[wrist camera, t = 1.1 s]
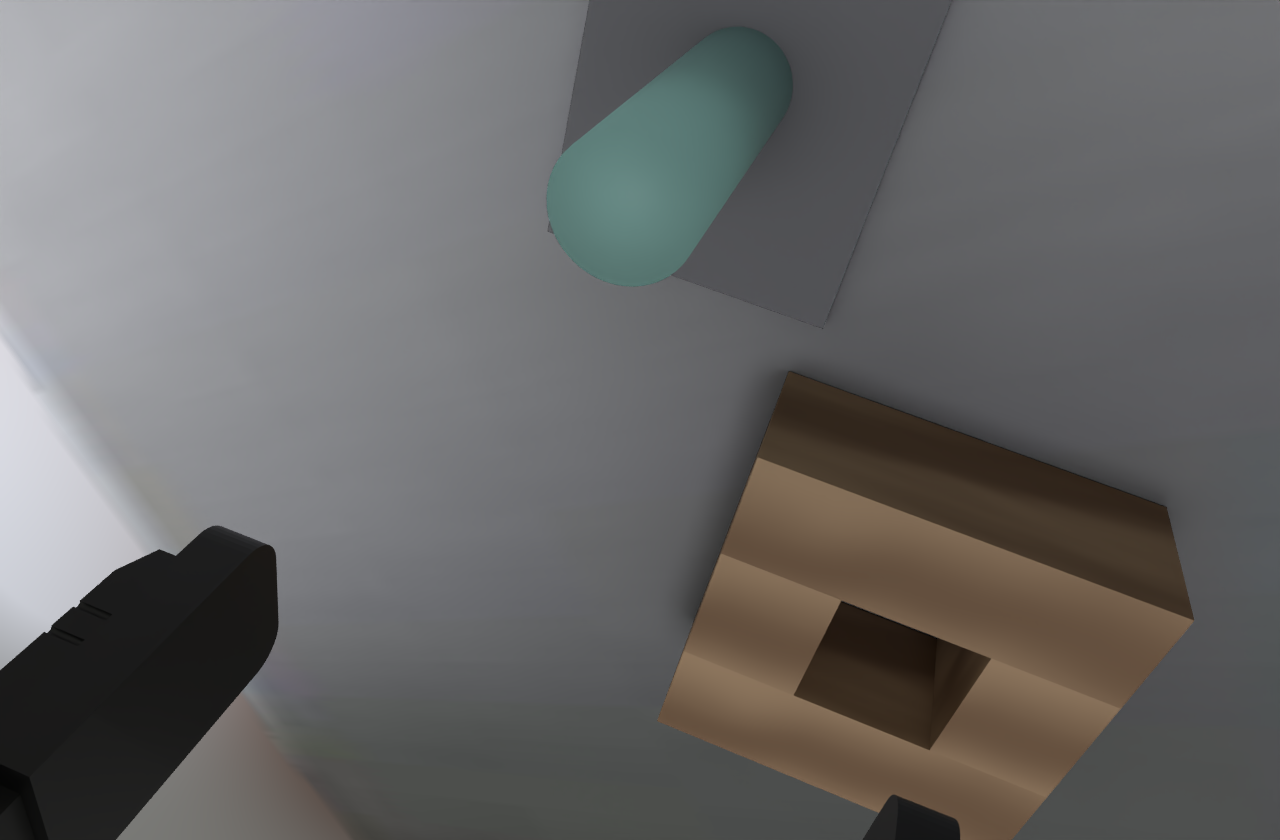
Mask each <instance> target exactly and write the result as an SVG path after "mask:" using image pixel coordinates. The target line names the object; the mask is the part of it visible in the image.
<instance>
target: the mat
mask: <svg viewBox="0 0 1280 840" xmlns="http://www.w3.org/2000/svg"><path fill="white" fill-rule="evenodd" d="M951 2H952V0H590V1H589V6H588V12H587V17H586V23H585V28H584V34H583V39H582V45H581V50H580V56H579V61H578V67H577V72H576V78H575V83H574V89H573V94H572V100H571V105H570V111H569V116H568V122H567V127H566V133H565V138H564V144H563V149H562V154H563V153H564V152H565V151H566V150H567V149H568V148H569V147H570V146H571V145H572V144H573V143H575V142H576V141H577V140H578V139H580V138H581V137H582V136H583V135H585V134H586V133H587V132H588V131H590V130H591V129H592V128H593V127H595V126H596V125H597V124H598V123H600V122H601V121H602V120H603V119H605V118H606V117H607V116H608V115H610V114H611V113H612V112H613V111H615V110H616V109H617V108H618V107H620V106H621V105H622V104H623V103H625V102H626V101H627V100H628V99H629V98H631V97H632V96H633V95H634V94H636V93H637V92H638V91H639V90H641V89H642V88H643V87H644V86H646V85H647V84H648V83H649V82H651V81H652V80H653V79H654V78H656V77H657V76H658V75H659V74H661V73H662V72H663V71H664V70H666V69H667V68H668V67H669V66H671V65H672V64H673V63H674V62H676V61H677V60H678V59H679V58H681V57H682V56H683V55H684V54H685V53H687V52H688V51H689V50H690V49H692V48H693V47H694V46H695V45H697V44H698V43H699V42H700V41H702V40H703V39H704V38H706V37H707V36H708V35H710V34H712V33H713V32H715V31H718V30H721V29H723V28H728V27H747V28H751V29H754V30H757V31H759V32H761V33H763V34H765V35H767V36H768V37H769V38H771V39H772V40H773V41H774V42H775V43H776V44H777V45H778V46H779V47H780V49H781V50H782V51H783V53H784V54H785V56H786V58H787V60H788V63H789V65H790V69H791V72H792V79H793V90H792V97H791V101H790V104H789V107H788V110H787V112H786V113H785V115H784V117H783V118H782V120H781V121H780V123H779V124H778V126H777V127H776V129H775V130H774V132H773V133H772V135H771V136H770V138H769V139H768V141H767V142H766V144H765V145H764V146H763V148H762V149H761V151H760V152H759V154H758V155H757V157H756V158H755V160H754V161H753V163H752V164H751V166H750V167H749V169H748V170H747V172H746V173H745V175H744V176H743V178H742V179H741V180H740V182H739V183H738V185H737V186H736V188H735V189H734V191H733V192H732V194H731V195H730V197H729V198H728V200H727V201H726V203H725V204H724V206H723V207H722V209H721V210H720V212H719V213H718V214H717V216H716V217H715V219H714V220H713V222H712V223H711V225H710V226H709V228H708V229H707V231H706V232H705V234H704V235H703V237H702V238H701V240H700V241H699V243H698V244H697V246H696V247H695V248H694V250H693V251H692V253H691V254H690V256H689V257H688V259H687V260H686V261H685V263H684V264H683V265H682V266H681V267H680V268H679V269H678V270H677V271H676V272H674V273H673V274H672V276H675V277H678V278H681V279H683V280H686V281H689V282H692V283H695V284H698V285H700V286H703V287H706V288H709V289H712V290H714V291H717V292H720V293H723V294H726V295H729V296H731V297H734V298H737V299H740V300H743V301H746V302H748V303H751V304H754V305H757V306H760V307H763V308H765V309H768V310H771V311H774V312H777V313H779V314H782V315H785V316H788V317H791V318H794V319H796V320H799V321H802V322H805V323H808V324H811V325H813V326H816V327H819V328H822V329H823V327H824V325H825V322H826V320H827V317H828V315H829V312H830V310H831V307H832V305H833V302H834V299H835V297H836V294H837V292H838V289H839V287H840V284H841V282H842V279H843V277H844V274H845V271H846V269H847V266H848V264H849V261H850V259H851V256H852V254H853V251H854V249H855V246H856V243H857V241H858V238H859V236H860V233H861V231H862V228H863V226H864V223H865V221H866V218H867V215H868V213H869V210H870V208H871V205H872V203H873V200H874V198H875V195H876V193H877V190H878V187H879V185H880V182H881V180H882V177H883V175H884V172H885V170H886V167H887V165H888V162H889V159H890V157H891V154H892V152H893V149H894V147H895V144H896V142H897V139H898V137H899V134H900V131H901V129H902V126H903V124H904V121H905V119H906V116H907V114H908V111H909V109H910V106H911V103H912V101H913V98H914V96H915V93H916V91H917V88H918V86H919V83H920V81H921V78H922V75H923V73H924V70H925V68H926V65H927V63H928V60H929V58H930V55H931V52H932V50H933V47H934V45H935V42H936V40H937V37H938V35H939V32H940V30H941V27H942V24H943V22H944V19H945V17H946V14H947V12H948V9H949V7H950V4H951ZM548 232H551V233H553V234H554V232H553V229H552V227H551V224H550V221H549V226H548Z"/></svg>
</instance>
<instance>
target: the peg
mask: <svg viewBox="0 0 1280 840" xmlns="http://www.w3.org/2000/svg"><path fill="white" fill-rule="evenodd" d="M792 90H793V79H792V72H791V69H790V65H789V63H788V60H787V58H786V56H785V54H784V53H783V51H782V50H781V49H780V47H779V46H778V45H777V44H776V43H775V42H774V41H773V40H772V39H771V38H769V37H768V36H767V35H765V34H763V33H761V32H759V31H757V30H754V29H751V28H747V27H728V28H723V29H721V30H718V31H715V32H713V33H712V34H710V35H708V36H707V37H706V38H704V39H703V40H702V41H700V42H699V43H698V44H697V45H695V46H694V47H693V48H692V49H690V50H689V51H688V52H687V53H685V54H684V55H683V56H682V57H681V58H679V59H678V60H677V61H676V62H674V63H673V64H672V65H671V66H669V67H668V68H667V69H666V70H664V71H663V72H662V73H661V74H659V75H658V76H657V77H656V78H654V79H653V80H652V81H651V82H649V83H648V84H647V85H646V86H644V87H643V88H642V89H641V90H639V91H638V92H637V93H636V94H634V95H633V96H632V97H631V98H629V99H628V100H627V101H626V102H625V103H623V104H622V105H621V106H620V107H618V108H617V109H616V110H615V111H613V112H612V113H611V114H610V115H608V116H607V117H606V118H605V119H603V120H602V121H601V122H600V123H598V124H597V125H596V126H595V127H593V128H592V129H591V130H590V131H588V132H587V133H586V134H585V135H583V136H582V137H581V138H580V139H578V140H577V141H576V142H575V143H573V144H572V145H571V146H570V147H569V148H568V149H567V150H566V151H565V152H564V153H563V154H562V155H561V157H560V158H559V159H558V161H557V163H556V164H555V166H554V168H553V170H552V173H551V175H550V179H549V183H548V188H547V211H548V217H549V220H550V224H551V227H552V229H553V232H554V234H555V236H556V238H557V240H558V242H559V244H560V245H561V247H562V248H563V250H564V251H565V252H566V254H567V255H568V256H569V257H570V258H571V259H572V260H573V261H574V262H575V263H576V264H577V265H578V266H579V267H580V268H582V269H583V270H585V271H586V272H587V273H589V274H591V275H592V276H594V277H596V278H598V279H600V280H603V281H605V282H608V283H612V284H615V285H621V286H634V287H635V286H645V285H649V284H653V283H656V282H658V281H661V280H663V279H665V278H667V277H669V276H670V275H672V274H673V273H674V272H676V271H677V270H678V269H679V268H680V267H681V266H682V265H683V264H684V263H685V261H686V260H687V259H688V257H689V256H690V254H691V253H692V251H693V250H694V248H695V247H696V246H697V244H698V243H699V241H700V240H701V238H702V237H703V235H704V234H705V232H706V231H707V229H708V228H709V226H710V225H711V223H712V222H713V220H714V219H715V217H716V216H717V214H718V213H719V212H720V210H721V209H722V207H723V206H724V204H725V203H726V201H727V200H728V198H729V197H730V195H731V194H732V192H733V191H734V189H735V188H736V186H737V185H738V183H739V182H740V180H741V179H742V178H743V176H744V175H745V173H746V172H747V170H748V169H749V167H750V166H751V164H752V163H753V161H754V160H755V158H756V157H757V155H758V154H759V152H760V151H761V149H762V148H763V146H764V145H765V144H766V142H767V141H768V139H769V138H770V136H771V135H772V133H773V132H774V130H775V129H776V127H777V126H778V124H779V123H780V121H781V120H782V118H783V117H784V115H785V113H786V112H787V110H788V107H789V104H790V101H791V97H792Z"/></svg>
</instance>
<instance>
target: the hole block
mask: <svg viewBox="0 0 1280 840" xmlns="http://www.w3.org/2000/svg"><path fill="white" fill-rule="evenodd" d="M841 600H842V601H845V602H847V603H850V604H852V605H855V606H857V607H860V608H863V609H865V610H868V611H870V612H873V613H875V614H878V615H881V616H883V617H886V618H888V619H891V620H893V621H896V622H899V623H901V624H904V625H906V626H909V627H911V628H914V629H917V630H919V631H922V632H924V633H927V634H929V635H932V636H935V637H937V638H938V639H935V638H933V637H930V636H927V635H925V634H922V633H920V632H917V631H915V630H912V629H909V628H907V627H904V626H902V625H899V624H897V623H894V622H891V621H889V620H886V619H884V618H881V617H879V616H876V615H873V614H871V613H868V612H866V611H863V610H861V609H858V608H855V607H853V606H850V605H848V604H845V603H842V602H841ZM1193 622H1194V617H1193V613H1192V609H1191V605H1190V601H1189V597H1188V593H1187V589H1186V585H1185V581H1184V576H1183V572H1182V568H1181V564H1180V560H1179V556H1178V552H1177V548H1176V544H1175V540H1174V536H1173V532H1172V528H1171V524H1170V519H1169V515H1168V511H1167V507H1164V506H1161V505H1158V504H1155V503H1153V502H1150V501H1147V500H1144V499H1142V498H1139V497H1136V496H1133V495H1131V494H1128V493H1125V492H1122V491H1119V490H1117V489H1114V488H1111V487H1108V486H1106V485H1103V484H1100V483H1097V482H1095V481H1092V480H1089V479H1086V478H1083V477H1081V476H1078V475H1075V474H1072V473H1070V472H1067V471H1064V470H1061V469H1059V468H1056V467H1053V466H1050V465H1047V464H1045V463H1042V462H1039V461H1036V460H1034V459H1031V458H1028V457H1025V456H1023V455H1020V454H1017V453H1014V452H1011V451H1009V450H1006V449H1003V448H1000V447H998V446H995V445H992V444H989V443H987V442H984V441H981V440H978V439H975V438H973V437H970V436H967V435H964V434H962V433H959V432H956V431H953V430H951V429H948V428H945V427H942V426H939V425H937V424H934V423H931V422H928V421H926V420H923V419H920V418H917V417H915V416H912V415H909V414H906V413H903V412H901V411H898V410H895V409H892V408H890V407H887V406H884V405H881V404H879V403H876V402H873V401H870V400H867V399H865V398H862V397H859V396H856V395H854V394H851V393H848V392H845V391H843V390H840V389H837V388H834V387H831V386H829V385H826V384H823V383H820V382H818V381H815V380H812V379H809V378H807V377H804V376H801V375H798V374H795V373H793V372H790V371H789V372H788V375H787V377H786V380H785V383H784V385H783V388H782V390H781V393H780V396H779V398H778V401H777V404H776V406H775V409H774V411H773V414H772V417H771V419H770V422H769V425H768V427H767V430H766V433H765V435H764V438H763V440H762V443H761V446H760V448H759V451H758V454H757V456H756V459H755V461H754V464H753V467H752V469H751V472H750V475H749V477H748V480H747V483H746V485H745V488H744V490H743V493H742V496H741V498H740V501H739V504H738V506H737V509H736V512H735V514H734V517H733V519H732V522H731V525H730V527H729V530H728V533H727V535H726V538H725V540H724V543H723V546H722V548H721V551H720V554H719V556H718V559H717V562H716V564H715V567H714V569H713V572H712V575H711V577H710V580H709V583H708V585H707V588H706V591H705V593H704V596H703V598H702V601H701V604H700V606H699V609H698V612H697V614H696V617H695V619H694V622H693V625H692V628H691V630H690V633H689V636H688V638H687V641H686V644H685V647H684V649H683V652H682V655H681V657H680V660H679V663H678V666H677V668H676V671H675V674H674V676H673V679H672V682H671V685H670V687H669V690H668V693H667V695H666V698H665V701H664V704H663V706H662V709H661V712H660V714H659V717H658V720H657V721H658V722H661V723H663V724H666V725H668V726H671V727H673V728H675V729H678V730H680V731H683V732H685V733H687V734H690V735H692V736H695V737H697V738H700V739H702V740H704V741H707V742H709V743H712V744H714V745H716V746H719V747H721V748H724V749H726V750H729V751H731V752H733V753H736V754H738V755H741V756H743V757H745V758H748V759H750V760H753V761H755V762H758V763H760V764H762V765H765V766H767V767H770V768H772V769H774V770H777V771H779V772H782V773H784V774H787V775H789V776H791V777H794V778H796V779H799V780H801V781H803V782H806V783H808V784H811V785H813V786H815V787H818V788H820V789H823V790H825V791H828V792H830V793H832V794H835V795H837V796H840V797H842V798H844V799H847V800H849V801H852V802H854V803H857V804H859V805H861V806H864V807H866V808H869V809H871V810H873V811H876V812H878V813H879V812H880V811H881V809H882V807H883V806H884V804H885V803H886V801H887V800H888V798H889V797H890V796H891V795H897V796H899V797H902V798H904V799H907V800H910V801H912V802H915V803H917V804H920V805H922V806H925V807H927V808H930V809H932V810H935V811H937V812H940V813H943V814H945V815H948V816H950V817H953V818H955V819H956V820H957V821H958V823H959V827H960V840H1012V839H1013V837H1014V836H1015V835H1016V834H1017V833H1018V831H1019V830H1020V829H1021V828H1022V827H1023V825H1024V824H1025V823H1026V822H1027V821H1028V819H1029V818H1030V817H1031V816H1032V815H1033V813H1034V812H1035V811H1036V810H1037V809H1038V807H1039V806H1040V805H1041V804H1042V803H1043V801H1044V800H1045V799H1046V798H1047V797H1048V795H1049V794H1050V793H1051V792H1052V791H1053V789H1054V788H1055V787H1056V786H1057V785H1058V783H1059V782H1060V781H1061V780H1062V779H1063V777H1064V776H1065V775H1066V774H1067V773H1068V771H1069V770H1070V769H1071V768H1072V767H1073V765H1074V764H1075V763H1076V762H1077V761H1078V759H1079V758H1080V757H1081V756H1082V755H1083V753H1084V752H1085V751H1086V750H1087V749H1088V747H1089V746H1090V745H1091V744H1092V743H1093V741H1094V740H1095V739H1096V738H1097V737H1098V735H1099V734H1100V733H1101V732H1102V731H1103V729H1104V728H1105V727H1106V726H1107V725H1108V723H1109V722H1110V721H1111V720H1112V719H1113V717H1114V716H1115V715H1116V714H1117V713H1118V711H1119V710H1120V709H1121V708H1122V707H1123V706H1124V704H1125V703H1126V702H1127V701H1128V700H1129V698H1130V697H1131V696H1132V695H1133V694H1134V692H1135V691H1136V690H1137V689H1138V688H1139V686H1140V685H1141V684H1142V683H1143V682H1144V680H1145V679H1146V678H1147V677H1148V676H1149V674H1150V673H1151V672H1152V671H1153V670H1154V668H1155V667H1156V666H1157V665H1158V664H1159V662H1160V661H1161V660H1162V659H1163V658H1164V656H1165V655H1166V654H1167V653H1168V652H1169V650H1170V649H1171V648H1172V647H1173V646H1174V644H1175V643H1176V642H1177V641H1178V640H1179V638H1180V637H1181V636H1182V635H1183V634H1184V632H1185V631H1186V630H1187V629H1188V628H1189V626H1190V625H1191V624H1192V623H1193Z"/></svg>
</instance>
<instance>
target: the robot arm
mask: <svg viewBox="0 0 1280 840" xmlns="http://www.w3.org/2000/svg"><path fill="white" fill-rule="evenodd" d="M277 632H278V597H277V570H276V553H275V551H274V549H273V547H271V546H270V545H267V544H265V543H262V542H260V541H257V540H255V539H252V538H250V537H247V536H244V535H242V534H239V533H237V532H234V531H232V530H229V529H227V528H224V527H222V526H212V527H209V528H207V529H206V530H204V531H203V532H202V533H200V534H199V535H198V536H197V537H196V538H195V539H194V540H193V541H192V542H190V543H189V544H188V545H187V546H186V547H185V548H184V549H183V550H182V551H181V552H180V553H179V554H177V555H176V556H175V555H172V554H170V553H167V552H165V551H162V550H160V549H159V550H157V551H155V552H153V553H151V554H149V555H146V556H144V557H142V558H140V559H138V560H136V561H134V562H132V563H129V564H127V565H125V566H123V567H121V568H119V569H117V570H115V571H114V572H112V573H111V574H110V575H109V576H108V577H107V578H105V579H104V580H103V581H102V582H101V583H100V584H99V585H97V586H96V587H95V588H94V589H93V590H92V591H91V592H90V593H88V594H87V595H86V596H85V597H84V598H83V599H81V600H80V604H79V605H78V606H77V607H76V608H75V607H72V608H71V609H70V610H69V611H68V612H67V613H65V614H64V615H63V616H62V617H61V618H60V619H58V621H56V622H55V623H54V624H53V625H52V627H51V630H50V631H49V632H48V633H45V632H44V633H43V634H41V635H40V636H39V637H38V638H37V639H36V640H35V641H33V642H32V643H31V644H30V645H29V646H28V647H27V648H25V649H24V650H23V651H22V652H21V653H20V654H18V655H17V656H16V657H15V658H14V659H13V660H12V661H10V662H9V663H8V664H7V665H6V666H5V667H4V668H2V669H1V670H0V840H116V839H117V838H118V836H119V835H120V834H121V833H122V832H123V831H124V829H125V828H126V827H127V826H128V825H129V824H130V822H131V821H132V820H133V819H134V818H135V816H136V815H137V814H138V813H139V812H140V810H141V809H142V808H143V807H144V806H145V805H146V804H147V802H148V801H149V800H150V799H151V798H152V796H153V795H154V794H155V793H156V792H157V791H158V789H159V788H160V787H161V786H162V785H163V783H164V782H165V781H166V780H167V779H168V777H169V776H170V775H171V774H172V773H173V772H174V771H175V769H176V768H177V767H178V766H179V765H180V763H181V762H182V761H183V760H184V759H185V758H186V756H187V755H188V754H189V753H190V752H191V750H192V749H193V748H194V747H195V746H196V744H197V743H198V742H199V741H200V740H201V739H202V737H203V736H204V735H205V734H206V733H207V731H208V730H209V729H210V728H211V727H212V726H213V724H214V723H215V722H216V721H217V720H218V719H219V717H220V716H221V715H222V714H223V713H224V711H225V710H226V709H227V708H228V707H229V706H230V704H231V703H232V702H233V701H234V700H235V699H236V697H237V696H238V695H239V694H240V693H241V691H242V690H243V689H244V688H245V687H246V686H247V684H248V683H249V682H250V681H251V680H252V679H253V677H254V676H255V675H256V674H257V673H258V671H259V670H260V669H261V667H262V666H263V664H264V663H265V661H266V659H267V658H268V656H269V654H270V652H271V650H272V647H273V645H274V642H275V639H276V636H277ZM863 840H960V827H959V823H958V821H957V820H956V819H955V818H953V817H950V816H948V815H945V814H943V813H940V812H937V811H935V810H932V809H930V808H927V807H925V806H922V805H920V804H917V803H915V802H912V801H910V800H907V799H904V798H902V797H899V796H897V795H891V796H890V797H889V798H888V800H887V801H886V803H885V804H884V806H883V807H882V809H881V811H880V812H879V814H878V816H877V817H876V819H875V820H874V822H873V824H872V825H871V827H870V829H869V830H868V832H867V834H866V835H865V837H864V838H863Z"/></svg>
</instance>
